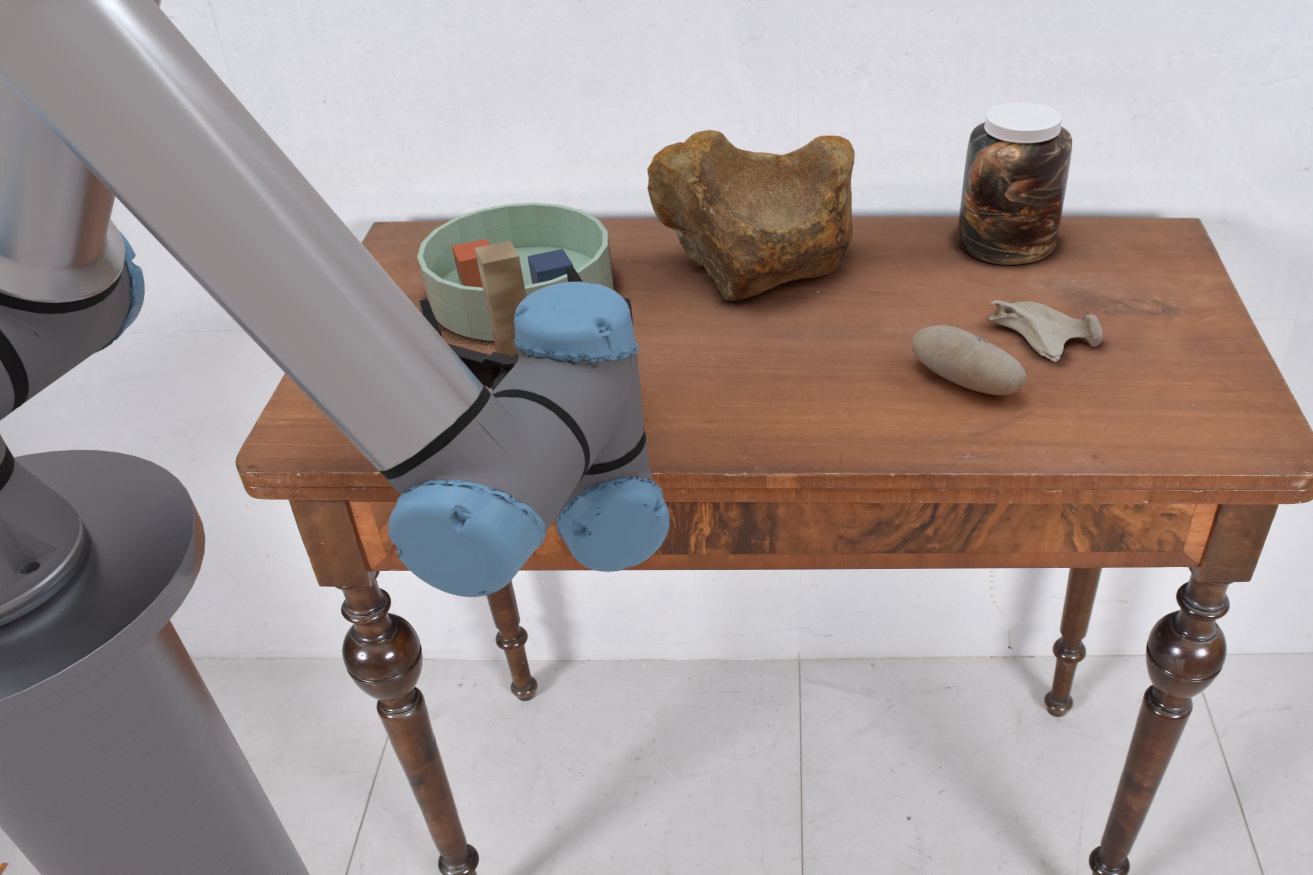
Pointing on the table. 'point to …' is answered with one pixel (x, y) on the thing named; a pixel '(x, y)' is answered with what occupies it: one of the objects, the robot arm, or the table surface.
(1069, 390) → the table surface
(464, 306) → the bowl
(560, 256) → the slate block
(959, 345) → the stone
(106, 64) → the robot arm
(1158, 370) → the table surface
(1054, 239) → the jar
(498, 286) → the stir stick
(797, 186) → the rough brown rock
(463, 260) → the terracotta block
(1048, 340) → the fossil
